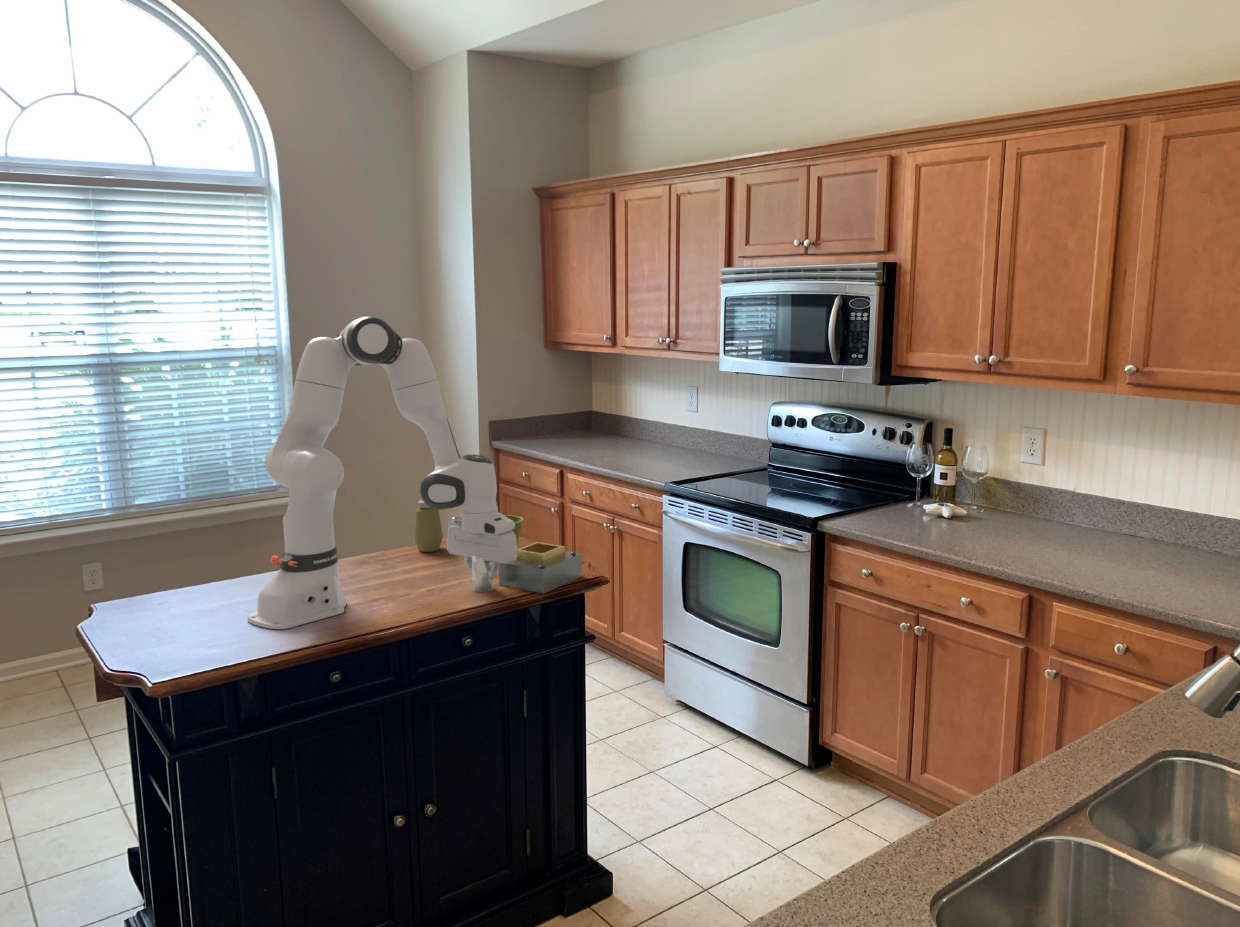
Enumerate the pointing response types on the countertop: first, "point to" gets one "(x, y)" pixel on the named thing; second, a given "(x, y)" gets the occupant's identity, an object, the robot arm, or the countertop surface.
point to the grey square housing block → (541, 568)
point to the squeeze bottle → (427, 528)
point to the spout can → (481, 575)
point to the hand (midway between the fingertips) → (482, 575)
